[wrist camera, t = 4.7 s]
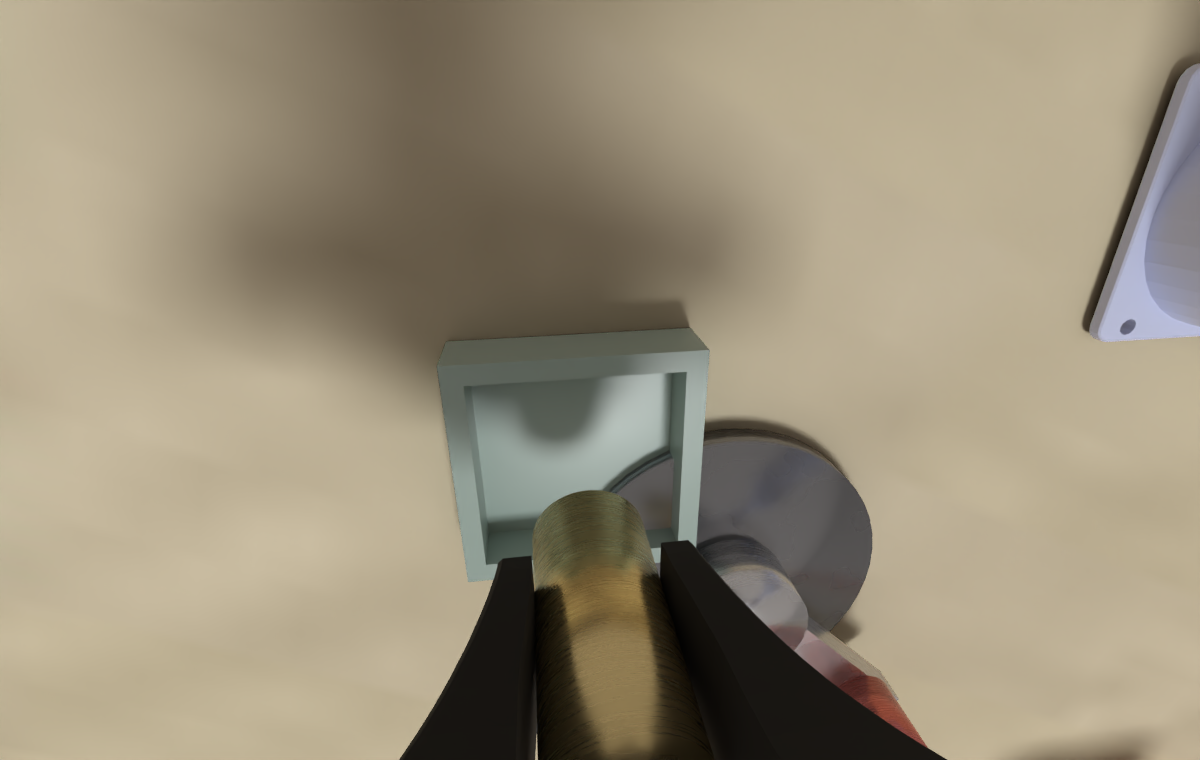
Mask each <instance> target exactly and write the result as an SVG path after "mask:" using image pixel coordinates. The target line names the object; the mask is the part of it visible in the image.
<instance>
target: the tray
mask: <svg viewBox="0 0 1200 760" xmlns="http://www.w3.org/2000/svg"><path fill="white" fill-rule="evenodd" d="M709 351H710V350H709V349H708V348H707V346H706V345H705V344H704V343H703V342H702V341H701V340H700V338H699V337H698V336H697V335H696V334H695V333H694V331H693V330H692V329H691V328H679V329H661V330H643V331H625V332H607V333H590V334H572V335H554V336H536V337H518V338H500V339H483V340H465V341H447V342H446V343H445V346H444V349H443V351H442V354H441V357H440V359H439V362H438V365H437V372H438V378H439V385H440V392H441V399H442V406H443V413H444V420H445V426H446V433H447V440H448V447H449V454H450V461H451V468H452V474H453V481H454V488H455V495H456V502H457V509H458V516H459V522H460V529H461V536H462V543H463V550H464V557H465V564H466V570H467V577H468V582H474V581H483V580H493V579H494V577H495V573H496V569H497V565H498V563H499V562H500V561H501V560H502V559H503V558H512V557H522V556H532V567H533V545H532V537H533V530H534V527H535V524H536V522H537V520H538V518H539V517H540V515H541V514H542V513H543V511H544V510H545V509H546V508H547V507H548V506H550V505H551V504H552V503H553V502H555V501H557V500H558V499H560V498H562V497H564V496H566V495H569V494H572V493H575V492H579V491H586V490H601V491H607V492H608V491H609V490H610V489H611V487H613V486H614V485H615V484H616V483H617V482H619V481H620V480H621V479H622V478H623V477H625V476H626V475H627V474H628V473H630V472H631V471H633V470H634V469H636V468H637V467H639V466H640V465H642V464H644V463H645V462H647V461H649V460H651V459H653V458H655V457H656V456H658V455H660V454H662V453H664V452H666V451H669V450H670V453H671V455H672V457H673V459H674V472H673V495H672V517H671V528H663V529H652V530H645V531H646V535H647V538H648V541H649V545H650V548H651V551H652V554H653V558H654V561H655V563H660V555H661V543H662V542H672V541H682V540H689V541H690V542H691V543H692V544H693V545H694V546H695V547H696V541H697V526H698V512H699V497H700V482H701V468H702V453H703V438H704V424H705V409H706V394H707V380H708V365H709Z"/></svg>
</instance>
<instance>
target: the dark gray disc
mask: <svg viewBox="0 0 1200 760" xmlns="http://www.w3.org/2000/svg"><path fill="white" fill-rule="evenodd" d="M673 472H674V459H673V457H672V455H671V453H670V450H669V451H666V452H664V453H662V454H660V455H658V456H656V457H655V458H653V459H651V460H649V461H647V462H645V463H644V464H642V465H640V466H639V467H637V468H636V469H634V470H633V471H631V472H630V473H628V474H627V475H626V476H625V477H623V478H622V479H621V480H620V481H619V482H617V483H616V484H615V485H614V486H613V487H611V489H610V490H609V491H608V492H611V493H614V494H617V495H619V496H621V497H623V498H625V499H626V500H628V501H629V502H630V503H631V504H632V505H633V506H634V507H635V508H636V509H637V511H638V512H639V514H640V516H641V519H642V521H643V525H644V528H645V530H652V529H663V528H671V517H672V495H673ZM728 540H748V541H753V542H756V543H759V544H761V545H763V546H765V547H767V548H768V549H770V550H771V551H772V552H773V553H774V554H775V556H776V557H777V558H778V560H779V562H780V563H781V565H782V567H783V568H784V570H785V572H786V573H787V575H788V577H789V578H790V580H791V582H792V583H793V585H794V587H795V588H796V590H797V592H798V593H799V595H800V597H801V598H802V600H803V602H804V604H805V606H806V608H807V612H808V616H809V617H811V618H812V619H813V620H815V621H816V622H817V623H818V624H820V625H821V626H822V627H824V628H825V629H826V630H827V631H830V630H831V629H832V628H833V627H834V626H835V625H836V624H837V623H838V622H839V621H840V620H841V618H842V617H843V616H844V615H845V613H846V612H847V611H848V609H849V608H850V607H851V605H852V603H853V602H854V600H855V598H856V597H857V595H858V593H859V591H860V589H861V587H862V585H863V583H864V580H865V578H866V575H867V571H868V568H869V565H870V560H871V553H872V529H871V524H870V518H869V515H868V513H867V510H866V507H865V504H864V502H863V501H862V499H861V497H860V496H859V494H858V492H857V491H856V489H855V488H854V487H853V486H852V485H851V483H850V482H849V481H848V480H847V479H846V478H845V477H844V475H843V474H842V473H841V472H840V471H839V470H838V469H837V468H836V467H835V466H834V465H833V464H832V463H831V462H830V461H829V460H828V459H827V458H825V457H824V456H823V455H822V454H821V453H819V452H818V451H817V450H815V449H813V448H811V447H810V446H808V445H806V444H805V443H803V442H800V441H798V440H795V439H793V438H790V437H788V436H785V435H781V434H777V433H773V432H769V431H761V430H752V429H725V430H718V431H710V432H704V438H703V453H702V468H701V482H700V497H699V512H698V526H697V541H696V549H697V550H698V551H700V550H701V549H703V548H705V547H707V546H709V545H712V544H715V543H718V542H722V541H728ZM655 564H656V568H657V571H658V574H659V577H660V563H655Z"/></svg>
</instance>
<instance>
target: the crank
mask: <svg viewBox="0 0 1200 760" xmlns="http://www.w3.org/2000/svg"><path fill="white" fill-rule="evenodd" d="M699 552H700V553H701V555H702V556H703V557H704V558H705V559H706V561H707V562H708V563H709V564H710V565H711V567H712V568H713V569H714V570H715V571H716V572H717V573H718V575H719V576H720V577H721V578H722V579H723V580H724V581H725V583H726V584H727V585H728V586H729V587H730V588H731V589H732V590H733V591H734V592H735V594H736V595H737V596H738V597H739V598H740V599H741V600H742V601H743V602H744V603H745V604H746V605H747V606H748V607H749V608H750V609H751V610H752V611H753V612H754V613H755V614H756V615H757V616H758V617H759V618H760V619H761V620H762V621H763V622H764V623H765V624H766V625H767V626H768V627H769V628H770V629H771V630H772V631H773V632H774V633H775V634H776V635H777V636H778V637H779V638H781V639H782V640H783V641H784V642H785V643H786V644H787V645H788V646H789V647H790V648H791V649H793V650H794V651H795V652H796V653H797V654H798V655H799V656H800V657H802V658H803V659H804V660H805V661H806V662H807V663H809V664H810V665H811V666H812V667H814V668H815V669H816V670H817V671H818V672H820V673H821V674H822V675H823V676H824V677H826V678H827V679H828V680H829V681H831V682H832V683H833V684H835V685H836V686H837V687H839V688H840V689H841V690H842V691H844V692H845V693H846V694H848V695H849V696H851V697H852V698H853V699H855V700H856V701H858V702H859V703H861V704H862V705H863V706H865V707H866V708H868V709H869V710H871V711H872V712H873V713H875V714H876V715H878V716H879V717H881V718H882V719H883V720H885V721H886V722H888V723H889V724H891V725H892V726H894V727H895V728H897V729H898V730H900V731H901V732H903V733H904V734H906V735H908V736H909V737H911V738H912V739H914V740H916V741H917V742H919V743H920V744H922V745H924V746H925V747H927V746H926V744H925V743H924V741H923V740H922V738H921V737H920V735H919V734H918V732H917V731H916V729H915V728H914V726H913V725H912V723H911V722H910V720H909V719H908V717H907V716H906V714H905V713H904V711H903V710H902V708H901V707H900V705H899V704H898V702H897V700H898V697H897V696H896V694H895V693H894V691H893V690H892V688H891V687H890V685H889V684H888V682H887V681H886V679H885V677H884V676H883V674H882V673H881V671H879V670H878V669H877V668H875V667H874V666H873V665H872V664H870V663H869V662H868V661H866V660H865V659H864V658H862V657H861V656H860V655H859V654H857V653H856V652H855V651H853V650H852V649H851V648H850V647H848V646H847V645H846V644H844V643H843V642H842V641H840V640H839V639H838V638H837V637H835V636H834V635H833V634H831V633H830V632H829V631H827V630H826V629H825V628H824V627H822V626H821V625H820V624H818V623H817V622H816V621H815V620H813V619H812V618H811V617H809V616H808V612H807V608H806V606H805V604H804V602H803V600H802V598H801V597H800V595H799V593H798V592H797V590H796V588H795V587H794V585H793V583H792V582H791V580H790V578H789V577H788V575H787V573H786V572H785V570H784V568H783V567H782V565H781V563H780V562H779V560H778V558H777V557H776V556H775V554H774V553H773V552H772V551H771V550H770V549H768V548H767V547H765V546H763V545H761V544H759V543H756V542H753V541H748V540H728V541H722V542H718V543H715V544H712V545H709V546H707V547H705V548H703V549H701V550H700V551H699ZM927 748H928V747H927Z"/></svg>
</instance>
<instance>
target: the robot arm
mask: <svg viewBox="0 0 1200 760" xmlns="http://www.w3.org/2000/svg"><path fill="white" fill-rule="evenodd" d="M1089 331H1090V335H1091V336H1092V337H1093V338H1095V339H1098V340H1101V341H1104V342H1114V341H1130V340H1145V339H1161V338H1177V337H1192V336H1200V63H1198V64H1194V65H1192V66H1191V67H1189V68H1188V69H1186V70H1185V72H1184V73H1183V74H1182V75H1181V76H1180V78H1179V80H1178V82H1177V84H1176V86H1175V89H1174V92H1173V95H1172V98H1171V100H1170V103H1169V106H1168V109H1167V112H1166V114H1165V117H1164V120H1163V123H1162V126H1161V128H1160V131H1159V134H1158V137H1157V140H1156V142H1155V145H1154V148H1153V151H1152V154H1151V156H1150V159H1149V162H1148V165H1147V168H1146V170H1145V173H1144V176H1143V179H1142V181H1141V184H1140V187H1139V190H1138V193H1137V195H1136V198H1135V201H1134V204H1133V207H1132V209H1131V212H1130V215H1129V218H1128V221H1127V223H1126V226H1125V229H1124V232H1123V235H1122V237H1121V240H1120V243H1119V246H1118V249H1117V251H1116V254H1115V257H1114V260H1113V263H1112V265H1111V268H1110V271H1109V274H1108V277H1107V279H1106V282H1105V285H1104V288H1103V291H1102V293H1101V296H1100V299H1099V302H1098V305H1097V307H1096V310H1095V313H1094V316H1093V319H1092V321H1091V324H1090V329H1089ZM660 581H661V584H662V587H663V591H664V594H665V597H666V601H667V604H668V607H669V610H670V614H671V617H672V620H673V624H674V627H675V630H676V634H677V637H678V640H679V643H680V647H681V650H682V653H683V657H684V660H685V663H686V666H687V670H688V673H689V676H690V680H691V683H692V686H693V690H694V693H695V696H696V699H697V703H698V706H699V709H700V713H701V716H702V719H703V723H704V726H705V729H706V732H707V736H708V739H709V742H710V746H711V749H712V752H713V755H714V759H715V760H947V759H945V758H943V757H942V756H940V755H938V754H937V753H935V752H933V751H932V750H930V749H929V748H927V747H925V746H924V745H922V744H920V743H919V742H917V741H916V740H914V739H912V738H911V737H909V736H908V735H906V734H904V733H903V732H901V731H900V730H898V729H897V728H895V727H894V726H892V725H891V724H889V723H888V722H886V721H885V720H883V719H882V718H881V717H879V716H878V715H876V714H875V713H873V712H872V711H871V710H869V709H868V708H866V707H865V706H863V705H862V704H861V703H859V702H858V701H856V700H855V699H853V698H852V697H851V696H849V695H848V694H846V693H845V692H844V691H842V690H841V689H840V688H839V687H837V686H836V685H835V684H833V683H832V682H831V681H829V680H828V679H827V678H826V677H824V676H823V675H822V674H821V673H820V672H818V671H817V670H816V669H815V668H814V667H812V666H811V665H810V664H809V663H807V662H806V661H805V660H804V659H803V658H802V657H800V656H799V655H798V654H797V653H796V652H795V651H794V650H793V649H791V648H790V647H789V646H788V645H787V644H786V643H785V642H784V641H783V640H782V639H781V638H779V637H778V636H777V635H776V634H775V633H774V632H773V631H772V630H771V629H770V628H769V627H768V626H767V625H766V624H765V623H764V622H763V621H762V620H761V619H760V618H759V617H758V616H757V615H756V614H755V613H754V612H753V611H752V610H751V609H750V608H749V607H748V606H747V605H746V604H745V603H744V602H743V601H742V600H741V599H740V598H739V597H738V596H737V595H736V594H735V592H734V591H733V590H732V589H731V588H730V587H729V586H728V585H727V584H726V583H725V581H724V580H723V579H722V578H721V577H720V576H719V575H718V573H717V572H716V571H715V570H714V569H713V568H712V567H711V565H710V564H709V563H708V562H707V561H706V559H705V558H704V557H703V556H702V555H701V553H700V552H699V551H698V550H697V549H696V547H695V546H694V545H693V544H692V543H691V542H690V541H689V540H682V541H672V542H662V543H661V555H660ZM535 632H536V628H535V591H534V579H533V567H532V556H522V557H512V558H503V559H502V560H501V561H500V562H499V563H498V565H497V569H496V573H495V577H494V580H493V583H492V586H491V589H490V592H489V595H488V597H487V600H486V602H485V605H484V607H483V610H482V612H481V615H480V617H479V619H478V621H477V624H476V626H475V628H474V631H473V633H472V635H471V637H470V640H469V642H468V644H467V646H466V648H465V650H464V652H463V654H462V656H461V658H460V660H459V661H458V663H457V665H456V667H455V669H454V671H453V673H452V675H451V677H450V679H449V681H448V683H447V684H446V686H445V688H444V690H443V691H442V693H441V695H440V697H439V698H438V700H437V702H436V704H435V705H434V707H433V709H432V710H431V712H430V714H429V715H428V717H427V718H426V720H425V722H424V723H423V725H422V726H421V728H420V730H419V731H418V733H417V734H416V736H415V737H414V739H413V740H412V742H411V743H410V745H409V746H408V748H407V749H406V751H405V752H404V754H403V755H402V757H401V758H400V760H535V749H536V730H537V703H536V664H535Z"/></svg>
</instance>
